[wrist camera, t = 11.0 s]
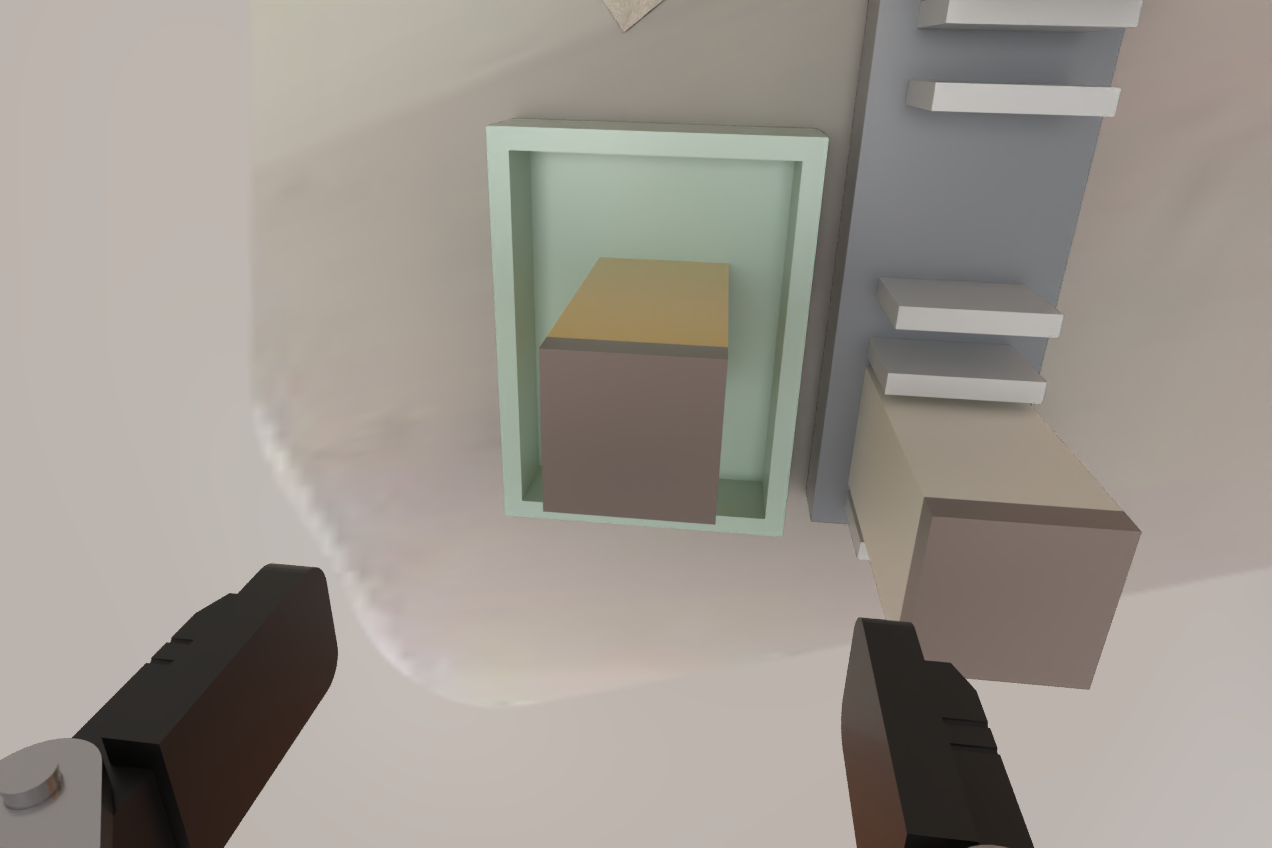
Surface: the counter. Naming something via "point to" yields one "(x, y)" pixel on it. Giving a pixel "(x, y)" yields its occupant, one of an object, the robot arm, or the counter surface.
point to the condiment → (629, 10)
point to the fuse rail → (970, 334)
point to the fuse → (637, 392)
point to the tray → (659, 230)
